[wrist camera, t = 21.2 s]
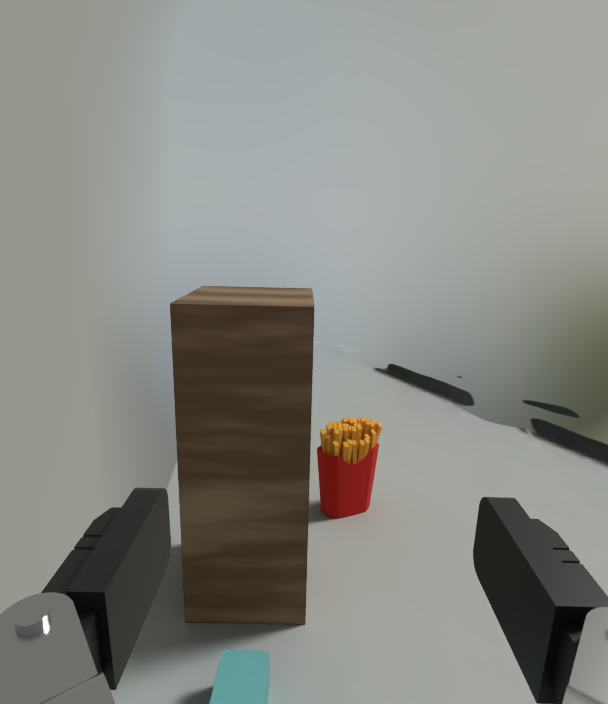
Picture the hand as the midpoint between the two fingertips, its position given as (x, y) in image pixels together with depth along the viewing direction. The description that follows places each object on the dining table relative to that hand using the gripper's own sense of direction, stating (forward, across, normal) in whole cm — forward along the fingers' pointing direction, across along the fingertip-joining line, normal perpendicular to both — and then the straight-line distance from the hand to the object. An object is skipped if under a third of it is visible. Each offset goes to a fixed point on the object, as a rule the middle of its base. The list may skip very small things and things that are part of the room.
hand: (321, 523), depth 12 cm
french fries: (+49, -6, +32) cm, 59 cm away
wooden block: (+34, +6, +32) cm, 47 cm away
